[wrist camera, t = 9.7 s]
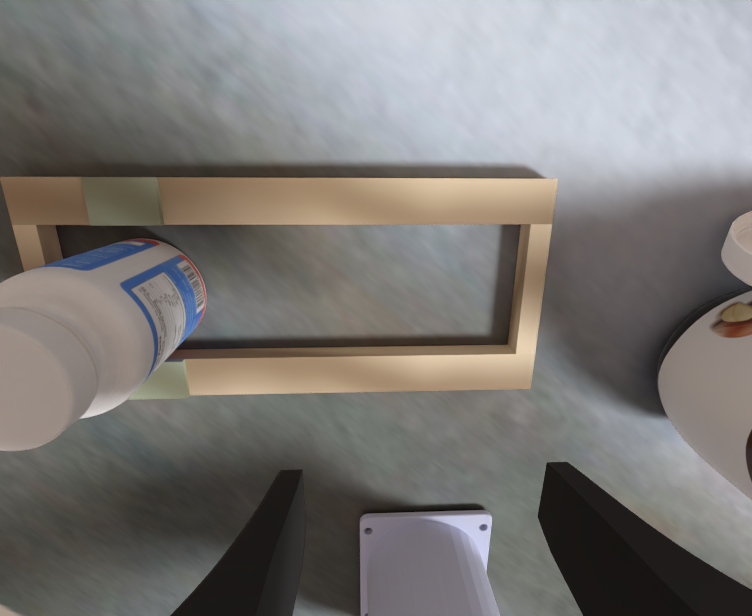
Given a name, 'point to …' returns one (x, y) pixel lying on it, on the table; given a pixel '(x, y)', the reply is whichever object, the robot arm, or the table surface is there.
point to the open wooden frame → (309, 207)
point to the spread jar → (716, 370)
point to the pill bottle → (89, 334)
